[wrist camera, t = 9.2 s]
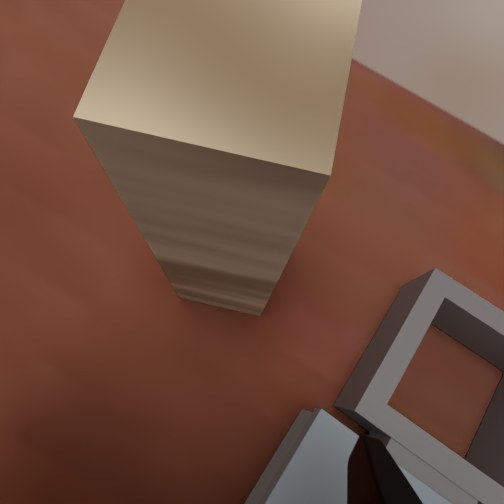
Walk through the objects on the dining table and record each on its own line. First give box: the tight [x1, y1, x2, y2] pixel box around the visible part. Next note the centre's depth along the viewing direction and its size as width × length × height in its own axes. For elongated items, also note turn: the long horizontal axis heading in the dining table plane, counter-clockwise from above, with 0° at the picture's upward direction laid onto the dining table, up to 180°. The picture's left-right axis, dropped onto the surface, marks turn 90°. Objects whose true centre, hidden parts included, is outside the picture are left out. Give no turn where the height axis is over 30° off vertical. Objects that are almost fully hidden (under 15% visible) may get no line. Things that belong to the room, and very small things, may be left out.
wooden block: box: [73, 0, 362, 317], centre depth 14 cm, size 4×4×15 cm
